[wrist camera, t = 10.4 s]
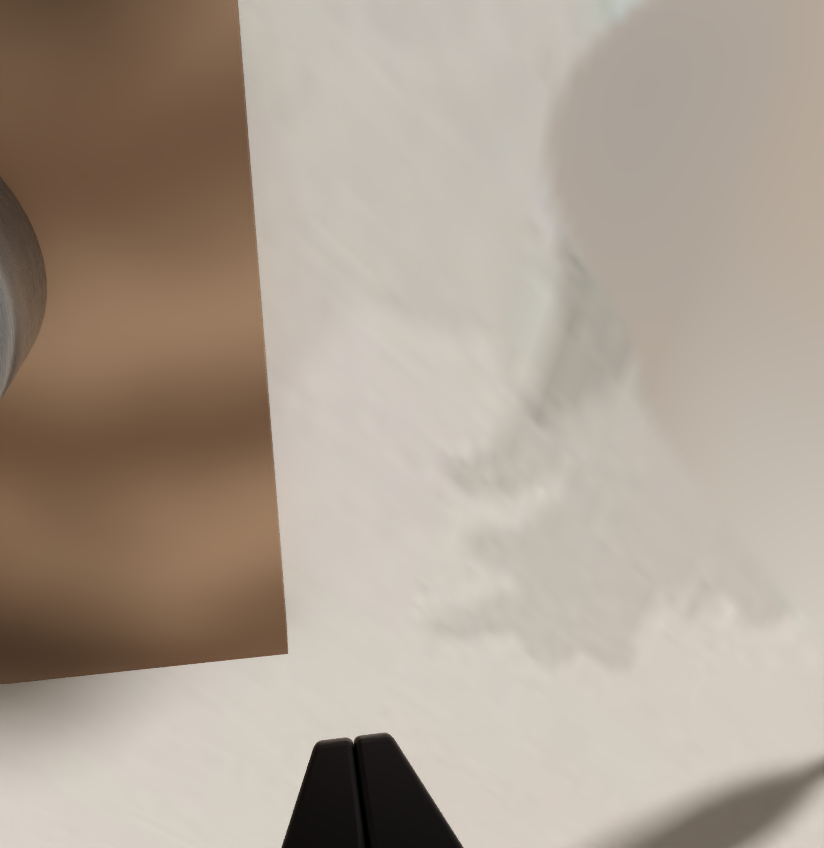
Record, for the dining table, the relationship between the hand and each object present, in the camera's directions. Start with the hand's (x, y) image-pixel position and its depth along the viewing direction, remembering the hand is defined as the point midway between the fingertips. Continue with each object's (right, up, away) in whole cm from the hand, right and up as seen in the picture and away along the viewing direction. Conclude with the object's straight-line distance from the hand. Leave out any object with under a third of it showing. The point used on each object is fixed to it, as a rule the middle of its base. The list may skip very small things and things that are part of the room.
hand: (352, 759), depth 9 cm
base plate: (-10, +4, +11) cm, 15 cm away
